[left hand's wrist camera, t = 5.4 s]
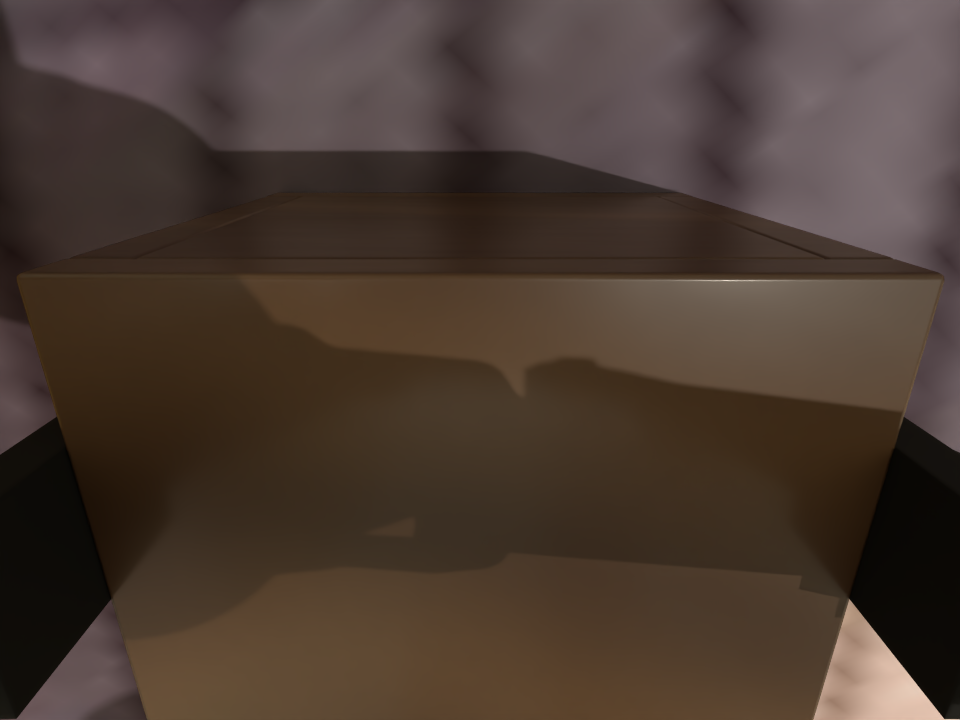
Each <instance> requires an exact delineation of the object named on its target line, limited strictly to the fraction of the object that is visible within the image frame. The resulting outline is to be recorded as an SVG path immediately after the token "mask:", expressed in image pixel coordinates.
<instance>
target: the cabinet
mask: <svg viewBox="0 0 960 720" xmlns="http://www.w3.org/2000/svg"><path fill="white" fill-rule="evenodd" d="M17 283H18V287H19V290H20V293H21V297H22V300H23V303H24V307H25V310H26V314H27V317H28V320H29V324H30V327H31V330H32V334H33V337H34V341H35V344H36V347H37V351H38V354H39V357H40V361H41V364H42V368H43V371H44V374H45V378H46V381H47V384H48V388H49V391H50V394H51V398H52V401H53V405H54V408H55V411H56V415H57V418H58V421H59V425H60V428H61V432H62V435H63V438H64V442H65V445H66V448H67V452H68V455H69V459H70V462H71V465H72V469H73V472H74V475H75V479H76V482H77V486H78V489H79V492H80V496H81V499H82V502H83V506H84V509H85V513H86V516H87V519H88V523H89V526H90V529H91V533H92V536H93V540H94V543H95V546H96V550H97V553H98V556H99V560H100V563H101V567H102V570H103V573H104V577H105V580H106V583H107V587H108V590H109V594H110V597H111V600H112V604H113V607H114V610H115V614H116V617H117V621H118V624H119V627H120V631H121V634H122V637H123V641H124V644H125V647H126V651H127V654H128V658H129V661H130V664H131V668H132V671H133V674H134V678H135V681H136V685H137V688H138V691H139V695H140V698H141V701H142V705H143V708H144V712H145V715H146V718H147V720H813V719H814V715H815V712H816V709H817V705H818V702H819V699H820V695H821V692H822V689H823V685H824V682H825V679H826V675H827V672H828V668H829V665H830V662H831V658H832V655H833V652H834V648H835V645H836V642H837V638H838V635H839V632H840V628H841V625H842V622H843V618H844V615H845V612H846V608H847V605H848V602H849V598H850V595H851V591H852V588H853V585H854V581H855V578H856V575H857V571H858V568H859V565H860V561H861V558H862V555H863V551H864V548H865V545H866V541H867V538H868V535H869V531H870V528H871V525H872V521H873V518H874V515H875V511H876V508H877V504H878V501H879V498H880V494H881V491H882V488H883V484H884V481H885V478H886V474H887V471H888V468H889V464H890V461H891V458H892V454H893V451H894V448H895V444H896V441H897V438H898V434H899V431H900V428H901V424H902V421H903V417H904V414H905V411H906V407H907V404H908V401H909V397H910V394H911V391H912V387H913V384H914V381H915V377H916V374H917V371H918V367H919V364H920V361H921V357H922V354H923V351H924V347H925V344H926V341H927V337H928V334H929V330H930V327H931V324H932V320H933V317H934V314H935V310H936V307H937V304H938V300H939V297H940V294H941V290H942V287H943V284H944V276H943V275H942V274H940V273H938V272H935V271H931V270H928V269H925V268H922V267H918V266H915V265H912V264H909V263H905V262H902V261H899V260H896V259H893V258H890V257H887V256H884V255H881V254H878V253H874V252H871V251H868V250H865V249H861V248H858V247H855V246H852V245H848V244H845V243H842V242H839V241H835V240H832V239H829V238H826V237H822V236H819V235H816V234H813V233H809V232H806V231H803V230H800V229H796V228H793V227H790V226H787V225H783V224H780V223H777V222H774V221H770V220H767V219H764V218H761V217H757V216H754V215H751V214H748V213H744V212H741V211H738V210H735V209H731V208H728V207H725V206H721V205H718V204H715V203H712V202H708V201H705V200H702V199H699V198H695V197H692V196H690V195H686V194H683V193H276V194H272V195H269V196H267V197H264V198H261V199H258V200H255V201H251V202H248V203H245V204H242V205H239V206H235V207H232V208H229V209H226V210H222V211H219V212H216V213H213V214H209V215H206V216H203V217H200V218H197V219H193V220H190V221H187V222H184V223H180V224H177V225H174V226H171V227H168V228H164V229H161V230H158V231H155V232H151V233H148V234H145V235H142V236H138V237H135V238H132V239H129V240H126V241H122V242H119V243H116V244H113V245H109V246H106V247H103V248H100V249H97V250H93V251H90V252H87V253H84V254H80V255H77V256H74V257H72V258H70V259H64V260H61V261H57V262H54V263H51V264H48V265H44V266H41V267H38V268H35V269H32V270H28V271H25V272H22V273H20V274H19V275H18V276H17Z"/></svg>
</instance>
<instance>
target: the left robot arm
mask: <svg viewBox="0 0 960 720" xmlns="http://www.w3.org/2000/svg"><path fill="white" fill-rule="evenodd" d="M849 599H850V600H851V601H852V603H853V604H854V605H855V607H856V608H857V609H858V610H859V612H860V613H861V614H862V615H863V617H864V618H865V619H866V620H867V622H868V623H869V624H870V625H871V627H872V628H873V629H874V631H875V632H876V633H877V634H878V636H879V637H880V638H881V639H882V641H883V642H884V643H885V644H886V646H887V647H888V648H889V650H890V651H891V652H892V653H893V655H894V656H895V657H896V658H897V660H898V661H899V662H900V663H901V665H902V666H903V667H904V668H905V670H906V671H907V672H908V674H909V675H910V676H911V677H912V679H913V680H914V681H915V682H916V684H917V685H918V686H919V687H920V689H921V690H922V691H923V692H924V694H925V695H926V696H927V698H928V699H929V700H930V701H931V703H932V704H933V705H934V706H935V708H936V709H937V710H938V711H939V713H940V714H941V715H942V717H943V718H944V719H960V453H959V452H957V451H955V450H952V449H951V448H949V447H948V446H947V445H945V444H944V443H942V442H941V441H939V440H938V439H936V438H935V437H933V436H932V435H930V434H929V433H927V432H926V431H924V430H923V429H921V428H920V427H918V426H917V425H915V424H914V423H912V422H911V421H909V420H908V419H906V418H905V417H903V421H902V424H901V428H900V431H899V434H898V438H897V441H896V444H895V448H894V451H893V454H892V458H891V461H890V464H889V468H888V471H887V474H886V478H885V481H884V484H883V488H882V491H881V494H880V498H879V501H878V504H877V508H876V511H875V515H874V518H873V521H872V525H871V528H870V531H869V535H868V538H867V541H866V545H865V548H864V551H863V555H862V558H861V561H860V565H859V568H858V571H857V575H856V578H855V581H854V585H853V588H852V591H851V595H850V598H849ZM110 600H111V597H110V594H109V590H108V587H107V583H106V580H105V577H104V573H103V570H102V567H101V563H100V560H99V556H98V553H97V550H96V546H95V543H94V540H93V536H92V533H91V529H90V526H89V523H88V519H87V516H86V513H85V509H84V506H83V502H82V499H81V496H80V492H79V489H78V486H77V482H76V479H75V475H74V472H73V469H72V465H71V462H70V459H69V455H68V452H67V448H66V445H65V442H64V438H63V435H62V432H61V428H60V425H59V421H58V418H57V417H56V418H54V419H53V420H51V421H50V422H48V423H47V424H45V425H44V426H42V427H41V428H39V429H38V430H37V431H35V432H34V433H32V434H31V435H29V436H28V437H26V438H25V439H23V440H22V441H20V442H19V443H17V444H16V445H14V446H13V447H11V448H10V449H8V450H7V451H5V452H4V453H2V454H1V455H0V719H17V717H18V716H19V715H20V714H21V712H22V711H23V710H24V708H25V707H26V706H27V705H28V703H29V702H30V701H31V700H32V698H33V697H34V696H35V695H36V693H37V692H38V691H39V690H40V688H41V687H42V686H43V684H44V683H45V682H46V681H47V679H48V678H49V677H50V676H51V674H52V673H53V672H54V671H55V669H56V668H57V667H58V665H59V664H60V663H61V662H62V660H63V659H64V658H65V657H66V655H67V654H68V653H69V652H70V650H71V649H72V648H73V647H74V645H75V644H76V643H77V641H78V640H79V639H80V638H81V636H82V635H83V634H84V633H85V631H86V630H87V629H88V628H89V626H90V625H91V624H92V622H93V621H94V620H95V619H96V617H97V616H98V615H99V614H100V612H101V611H102V610H103V609H104V607H105V606H106V605H107V604H108V602H109V601H110Z"/></svg>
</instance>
